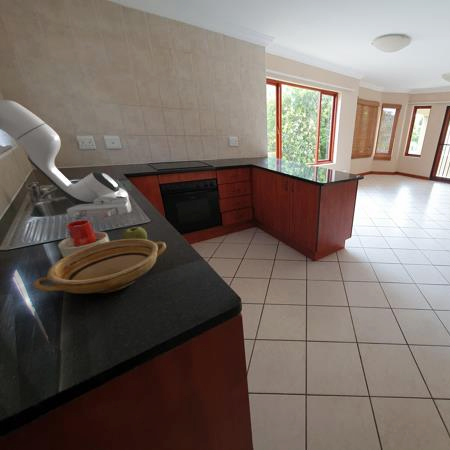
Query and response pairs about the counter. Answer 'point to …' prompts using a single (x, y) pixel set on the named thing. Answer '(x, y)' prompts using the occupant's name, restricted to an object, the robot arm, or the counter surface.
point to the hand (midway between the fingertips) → (92, 215)
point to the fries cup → (81, 233)
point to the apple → (134, 233)
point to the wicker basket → (102, 267)
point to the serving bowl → (68, 246)
